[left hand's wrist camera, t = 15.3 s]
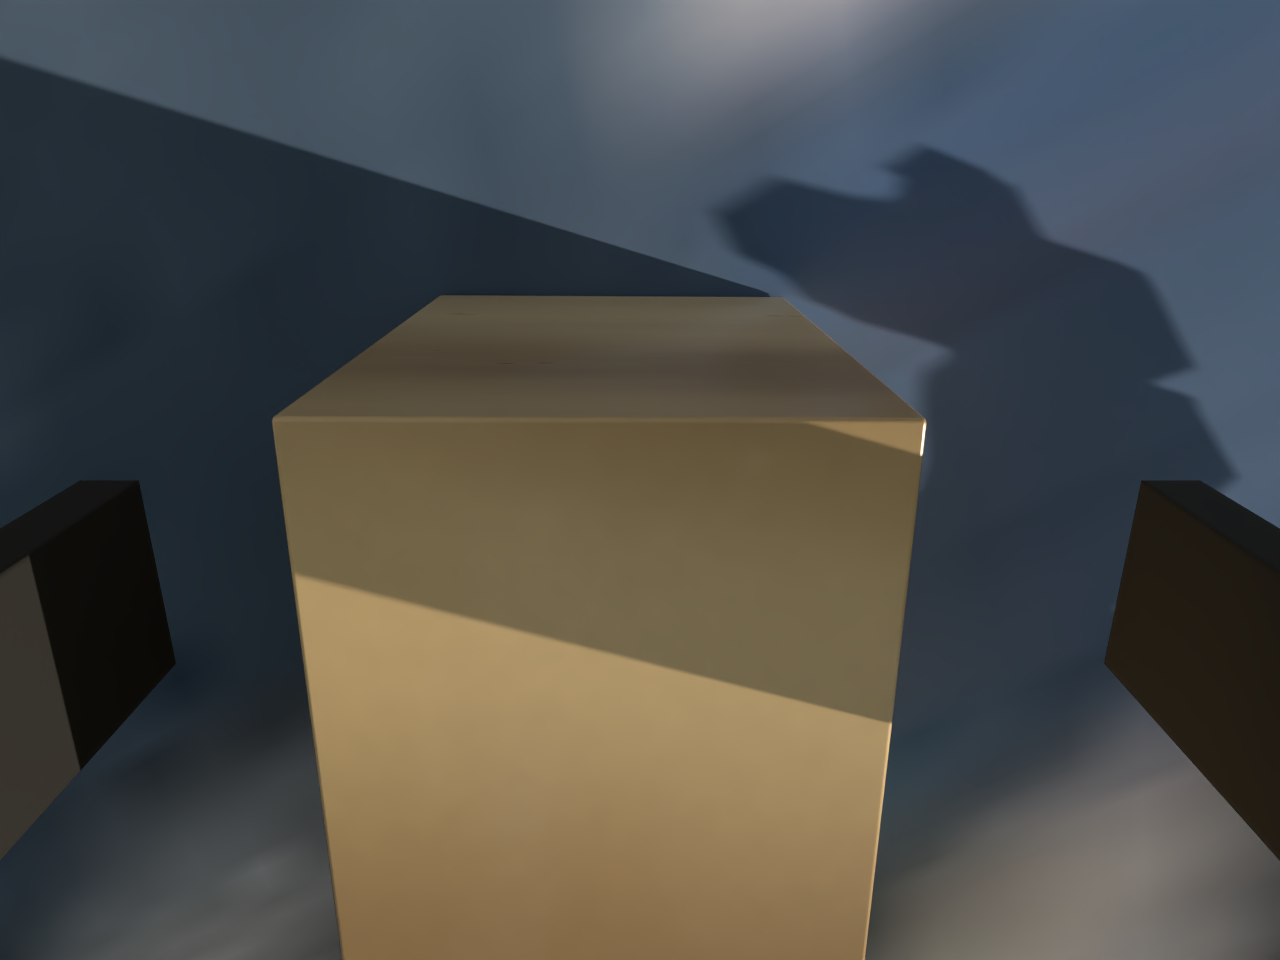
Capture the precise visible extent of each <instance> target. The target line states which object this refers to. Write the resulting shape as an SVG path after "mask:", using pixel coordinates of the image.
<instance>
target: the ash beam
mask: <svg viewBox="0 0 1280 960" xmlns="http://www.w3.org/2000/svg"><path fill="white" fill-rule="evenodd" d="M926 424H927V423H926V420H925V418H923V417H922V416H921V415H920V414H919V413H918V412H916V411H915V410H914V409H913V408H912V407H911V406H909V405H908V404H907V403H906V402H905V401H904V400H902V399H901V398H900V397H899V396H898V395H897V394H895V393H894V392H893V391H892V390H891V389H890V388H888V387H887V386H886V385H885V384H884V383H882V382H881V381H880V380H879V379H878V378H877V377H875V376H874V375H873V374H872V373H871V372H870V371H868V370H867V369H866V368H865V367H864V366H863V365H861V364H860V363H859V362H858V361H857V360H856V359H854V358H853V357H852V356H851V355H850V354H849V353H847V352H846V351H845V350H844V349H843V348H841V347H840V346H839V345H838V344H837V343H836V342H834V341H833V340H832V339H831V338H830V337H829V336H827V335H826V334H825V333H824V332H823V331H822V330H820V329H819V328H818V327H817V326H816V325H815V324H813V323H812V322H811V321H810V320H809V319H808V318H806V317H805V316H804V315H803V314H802V313H800V312H799V311H798V310H797V309H796V308H795V307H793V306H792V305H791V304H790V303H789V302H788V301H786V300H785V299H784V298H782V297H654V296H475V295H441V296H439V297H437V298H436V299H435V300H433V301H432V302H431V303H429V304H428V305H426V306H425V307H424V308H422V309H421V310H420V311H418V312H417V313H415V314H414V315H413V316H411V317H410V318H409V319H407V320H406V321H404V322H403V323H402V324H400V325H399V326H398V327H396V328H395V329H393V330H392V331H391V332H389V333H388V334H387V335H385V336H384V337H382V338H381V339H380V340H378V341H377V342H376V343H374V344H373V345H371V346H370V347H369V348H367V349H366V350H365V351H363V352H362V353H360V354H359V355H358V356H356V357H355V358H354V359H352V360H351V361H349V362H348V363H347V364H345V365H344V366H343V367H341V368H340V369H338V370H337V371H336V372H334V373H333V374H332V375H330V376H329V377H327V378H326V379H325V380H323V381H322V382H321V383H319V384H318V385H316V386H315V387H314V388H312V389H311V390H310V391H308V392H307V393H305V394H304V395H303V396H301V397H300V398H299V399H297V400H296V401H295V402H293V403H292V404H290V405H289V406H288V407H286V408H285V409H284V410H282V411H281V412H279V413H278V414H277V415H275V416H274V417H273V419H272V425H273V433H274V441H275V448H276V456H277V464H278V471H279V479H280V487H281V495H282V502H283V510H284V518H285V525H286V533H287V541H288V549H289V556H290V564H291V572H292V579H293V587H294V595H295V603H296V610H297V618H298V626H299V633H300V641H301V649H302V657H303V664H304V672H305V680H306V687H307V695H308V703H309V711H310V718H311V726H312V734H313V741H314V749H315V757H316V765H317V772H318V780H319V788H320V795H321V803H322V811H323V819H324V826H325V834H326V842H327V849H328V857H329V865H330V873H331V880H332V888H333V896H334V903H335V911H336V919H337V927H338V934H339V942H340V950H341V957H342V960H865V952H866V944H867V935H868V926H869V918H870V909H871V900H872V892H873V883H874V874H875V866H876V857H877V848H878V840H879V831H880V822H881V814H882V805H883V796H884V788H885V779H886V770H887V762H888V753H889V744H890V736H891V727H892V718H893V710H894V701H895V692H896V684H897V675H898V666H899V658H900V649H901V640H902V632H903V623H904V614H905V606H906V597H907V588H908V580H909V571H910V562H911V554H912V545H913V536H914V528H915V519H916V510H917V502H918V493H919V484H920V476H921V467H922V458H923V450H924V441H925V432H926Z"/></svg>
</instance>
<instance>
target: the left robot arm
mask: <svg viewBox="0 0 1280 960" xmlns="http://www.w3.org/2000/svg"><path fill="white" fill-rule="evenodd" d="M175 664H176V662H175V657H174V652H173V647H172V642H171V637H170V633H169V628H168V623H167V618H166V613H165V608H164V603H163V598H162V593H161V588H160V583H159V578H158V574H157V569H156V564H155V559H154V554H153V549H152V544H151V539H150V534H149V529H148V524H147V519H146V515H145V510H144V505H143V500H142V495H141V490H140V485H139V481H79V482H77V483H75V484H74V485H72V486H70V487H69V488H67V489H65V490H64V491H62V492H60V493H59V494H57V495H55V496H54V497H52V498H50V499H49V500H47V501H45V502H44V503H42V504H40V505H39V506H37V507H35V508H34V509H32V510H31V511H29V512H27V513H26V514H24V515H22V516H21V517H19V518H17V519H16V520H14V521H12V522H11V523H9V524H7V525H6V526H4V527H2V528H1V529H0V860H1V859H2V858H3V857H4V856H5V855H6V853H7V852H8V851H9V850H10V849H11V848H12V847H13V846H14V844H15V843H16V842H17V841H18V840H19V839H20V838H21V837H22V835H23V834H24V833H25V832H26V831H27V830H28V829H29V828H30V826H31V825H32V824H33V823H34V822H35V821H36V820H37V819H38V818H39V816H40V815H41V814H42V813H43V812H44V811H45V810H46V809H47V807H48V806H49V805H50V804H51V803H52V802H53V801H54V800H55V798H56V797H57V796H58V795H59V794H60V793H61V792H62V791H63V789H64V788H65V787H66V786H67V785H68V784H69V783H70V782H71V780H72V779H73V778H74V777H75V776H76V775H77V774H78V773H79V772H80V770H81V769H82V768H83V767H84V766H85V765H86V764H87V763H88V761H89V760H90V759H91V758H92V757H93V756H94V755H95V754H96V752H97V751H98V750H99V749H100V748H101V747H102V746H103V745H104V743H105V742H106V741H107V740H108V739H109V738H110V737H111V736H112V734H113V733H114V732H115V731H116V730H117V729H118V728H119V727H120V726H121V724H122V723H123V722H124V721H125V720H126V719H127V718H128V717H129V715H130V714H131V713H132V712H133V711H134V710H135V709H136V708H137V706H138V705H139V704H140V703H141V702H142V701H143V700H144V699H145V697H146V696H147V695H148V694H149V693H150V692H151V691H152V690H153V689H154V687H155V686H156V685H157V684H158V683H159V682H160V681H161V680H162V678H163V677H164V676H165V675H166V674H167V673H168V672H169V671H170V669H171V668H172V667H173V666H174V665H175ZM1104 664H1105V665H1106V666H1107V667H1108V668H1109V669H1110V671H1111V672H1112V673H1113V674H1114V675H1115V676H1116V677H1117V678H1118V680H1119V681H1120V682H1121V683H1122V684H1123V685H1124V686H1125V687H1126V689H1127V690H1128V691H1129V692H1130V693H1131V694H1132V695H1133V696H1134V697H1135V699H1136V700H1137V701H1138V702H1139V703H1140V704H1141V705H1142V706H1143V708H1144V709H1145V710H1146V711H1147V712H1148V713H1149V714H1150V715H1151V717H1152V718H1153V719H1154V720H1155V721H1156V722H1157V723H1158V724H1159V726H1160V727H1161V728H1162V729H1163V730H1164V731H1165V732H1166V733H1167V734H1168V736H1169V737H1170V738H1171V739H1172V740H1173V741H1174V742H1175V743H1176V745H1177V746H1178V747H1179V748H1180V749H1181V750H1182V751H1183V752H1184V754H1185V755H1186V756H1187V757H1188V758H1189V759H1190V760H1191V761H1192V763H1193V764H1194V765H1195V766H1196V767H1197V768H1198V769H1199V770H1200V772H1201V773H1202V774H1203V775H1204V776H1205V777H1206V778H1207V779H1208V780H1209V782H1210V783H1211V784H1212V785H1213V786H1214V787H1215V788H1216V789H1217V791H1218V792H1219V793H1220V794H1221V795H1222V796H1223V797H1224V798H1225V800H1226V801H1227V802H1228V803H1229V804H1230V805H1231V806H1232V807H1233V809H1234V810H1235V811H1236V812H1237V813H1238V814H1239V815H1240V816H1241V817H1242V819H1243V820H1244V821H1245V822H1246V823H1247V824H1248V825H1249V826H1250V828H1251V829H1252V830H1253V831H1254V832H1255V833H1256V834H1257V835H1258V837H1259V838H1260V839H1261V840H1262V841H1263V842H1264V843H1265V844H1266V846H1267V847H1268V848H1269V849H1270V850H1271V851H1272V852H1273V853H1274V855H1275V856H1276V857H1277V858H1278V859H1279V860H1280V529H1279V528H1278V527H1276V526H1274V525H1273V524H1271V523H1269V522H1268V521H1266V520H1264V519H1263V518H1261V517H1259V516H1258V515H1256V514H1254V513H1253V512H1251V511H1249V510H1248V509H1246V508H1245V507H1243V506H1241V505H1240V504H1238V503H1236V502H1235V501H1233V500H1231V499H1230V498H1228V497H1226V496H1225V495H1223V494H1221V493H1220V492H1218V491H1216V490H1215V489H1213V488H1211V487H1210V486H1208V485H1206V484H1205V483H1203V482H1201V481H1141V485H1140V490H1139V495H1138V500H1137V505H1136V510H1135V515H1134V519H1133V524H1132V529H1131V534H1130V539H1129V544H1128V549H1127V554H1126V559H1125V564H1124V569H1123V574H1122V578H1121V583H1120V588H1119V593H1118V598H1117V603H1116V608H1115V613H1114V618H1113V623H1112V628H1111V633H1110V637H1109V642H1108V647H1107V652H1106V657H1105V662H1104Z"/></svg>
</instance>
